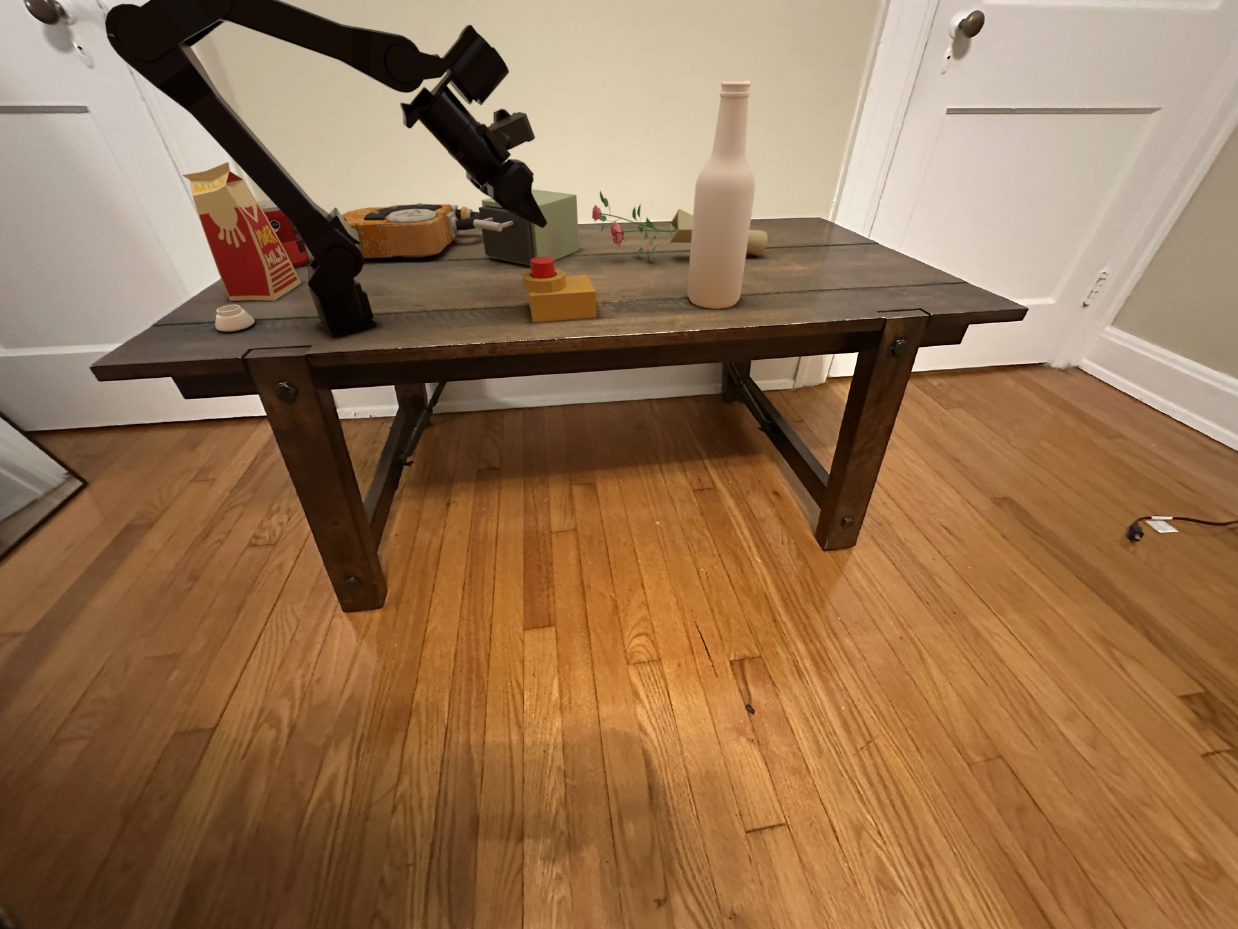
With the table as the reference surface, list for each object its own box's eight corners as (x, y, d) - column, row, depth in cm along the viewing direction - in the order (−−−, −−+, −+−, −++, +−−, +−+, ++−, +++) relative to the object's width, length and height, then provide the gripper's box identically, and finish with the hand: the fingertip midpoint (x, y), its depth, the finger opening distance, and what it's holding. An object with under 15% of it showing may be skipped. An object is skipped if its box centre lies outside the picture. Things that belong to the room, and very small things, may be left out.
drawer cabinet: (538, 267, 104) (532, 207, 98) (489, 257, 109) (481, 200, 103) (579, 250, 113) (576, 194, 107) (532, 242, 119) (527, 188, 112)
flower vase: (749, 297, 112) (587, 268, 102) (736, 262, 119) (583, 233, 109) (776, 246, 102) (601, 210, 93) (760, 212, 110) (596, 175, 100)
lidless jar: (216, 325, 81) (219, 336, 78) (207, 306, 80) (210, 317, 76) (253, 318, 84) (257, 328, 80) (245, 299, 82) (249, 309, 79)
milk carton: (301, 282, 97) (255, 157, 85) (276, 301, 90) (223, 166, 78) (250, 283, 97) (197, 158, 85) (222, 301, 90) (159, 167, 77)
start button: (532, 281, 80) (530, 264, 79) (531, 274, 83) (529, 257, 82) (556, 279, 81) (555, 262, 79) (554, 272, 84) (552, 255, 82)
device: (349, 196, 119) (483, 194, 120) (360, 235, 124) (489, 233, 125) (305, 220, 101) (464, 217, 102) (320, 264, 106) (471, 262, 107)
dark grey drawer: (514, 270, 99) (507, 219, 94) (468, 261, 104) (460, 212, 99) (568, 248, 111) (565, 202, 106) (525, 240, 116) (521, 196, 111)
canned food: (257, 266, 105) (233, 206, 98) (293, 256, 110) (273, 198, 104) (282, 272, 102) (259, 210, 95) (318, 261, 108) (298, 201, 101)
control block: (527, 323, 82) (523, 284, 78) (524, 304, 88) (520, 267, 84) (596, 317, 84) (595, 279, 80) (589, 299, 90) (587, 263, 86)
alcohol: (699, 312, 85) (720, 82, 67) (679, 294, 92) (693, 80, 74) (748, 306, 87) (782, 81, 69) (725, 289, 94) (750, 79, 76)
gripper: (516, 88, 65) (594, 190, 76) (482, 83, 79) (551, 171, 89) (456, 158, 67) (540, 248, 77) (432, 142, 80) (507, 221, 91)
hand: (535, 219), depth 84 cm, fingers open, 9 cm apart
